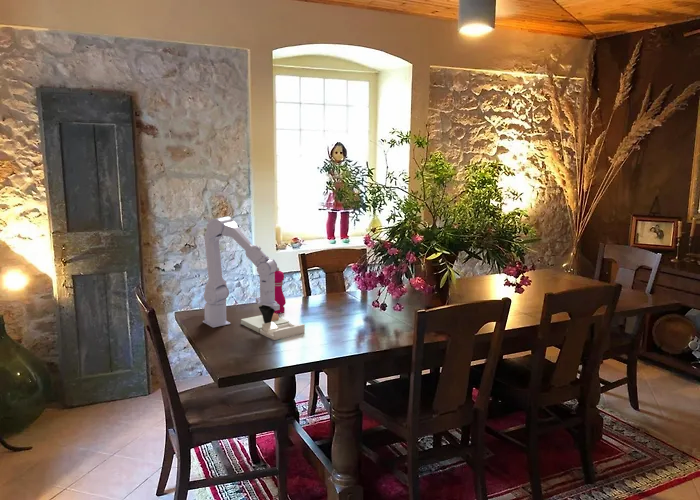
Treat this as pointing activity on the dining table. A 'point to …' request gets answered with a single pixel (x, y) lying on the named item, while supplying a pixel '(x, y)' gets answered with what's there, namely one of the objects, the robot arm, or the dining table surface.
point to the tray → (284, 331)
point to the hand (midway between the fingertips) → (267, 323)
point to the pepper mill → (279, 290)
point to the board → (260, 322)
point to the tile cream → (269, 327)
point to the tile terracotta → (275, 317)
